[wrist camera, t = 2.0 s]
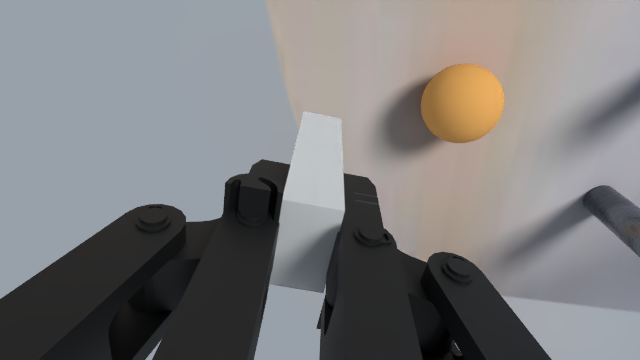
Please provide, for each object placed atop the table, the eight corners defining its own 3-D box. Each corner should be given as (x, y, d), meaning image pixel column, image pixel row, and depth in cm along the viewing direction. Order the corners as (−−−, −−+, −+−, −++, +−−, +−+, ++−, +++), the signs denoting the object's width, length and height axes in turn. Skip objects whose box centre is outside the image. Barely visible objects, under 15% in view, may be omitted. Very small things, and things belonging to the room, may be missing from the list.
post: (621, 188, 31) (717, 258, 23) (604, 212, 32) (690, 286, 24) (593, 183, 31) (679, 251, 23) (577, 207, 32) (654, 280, 24)
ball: (499, 65, 27) (534, 83, 22) (470, 133, 29) (496, 162, 24) (427, 50, 26) (447, 65, 22) (405, 120, 29) (418, 147, 24)
